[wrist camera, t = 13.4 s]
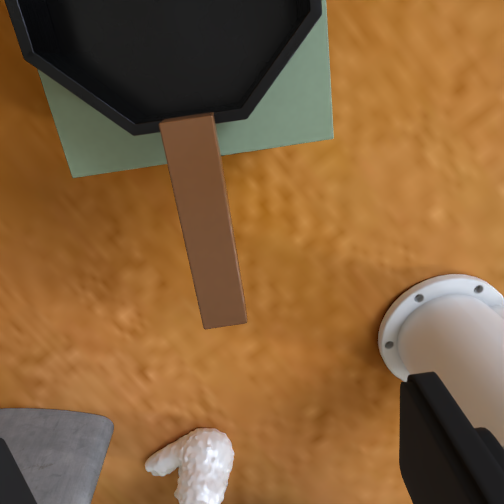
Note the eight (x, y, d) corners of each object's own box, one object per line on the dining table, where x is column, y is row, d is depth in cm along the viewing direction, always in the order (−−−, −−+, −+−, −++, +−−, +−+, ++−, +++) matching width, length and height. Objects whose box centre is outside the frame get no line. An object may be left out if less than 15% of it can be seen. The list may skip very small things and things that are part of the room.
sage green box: (276, -154, 25) (309, -301, 15) (299, 117, 32) (333, 138, 22) (51, -119, 25) (-64, -243, 15) (120, 144, 32) (72, 178, 22)
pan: (289, -223, 16) (312, -332, 12) (324, 267, 25) (344, 309, 20) (-15, -177, 16) (-104, -268, 12) (127, 296, 25) (106, 344, 21)
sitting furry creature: (144, 458, 46) (118, 581, 35) (179, 405, 43) (163, 521, 32) (220, 484, 48) (218, 607, 37) (257, 435, 45) (268, 552, 34)
